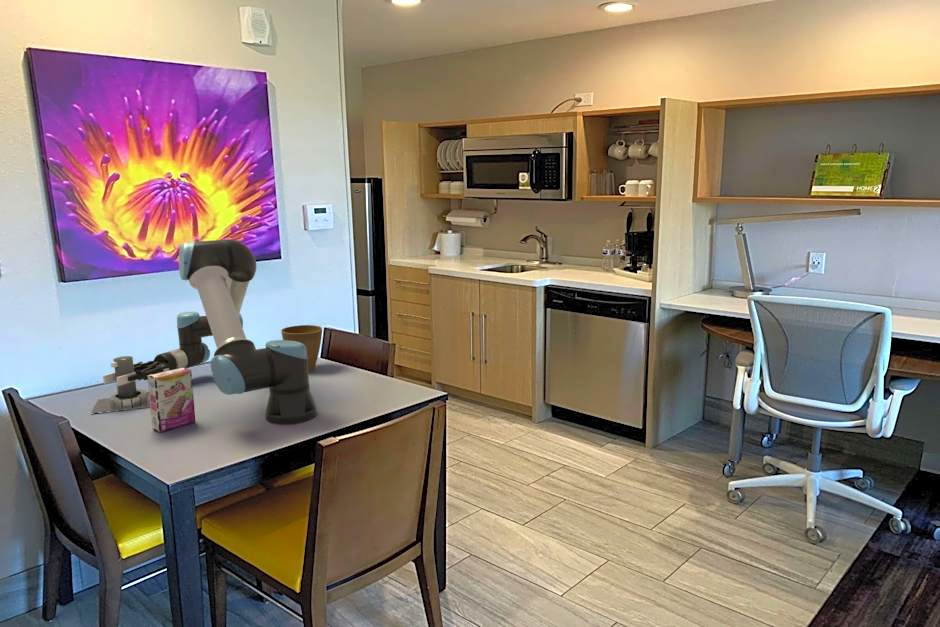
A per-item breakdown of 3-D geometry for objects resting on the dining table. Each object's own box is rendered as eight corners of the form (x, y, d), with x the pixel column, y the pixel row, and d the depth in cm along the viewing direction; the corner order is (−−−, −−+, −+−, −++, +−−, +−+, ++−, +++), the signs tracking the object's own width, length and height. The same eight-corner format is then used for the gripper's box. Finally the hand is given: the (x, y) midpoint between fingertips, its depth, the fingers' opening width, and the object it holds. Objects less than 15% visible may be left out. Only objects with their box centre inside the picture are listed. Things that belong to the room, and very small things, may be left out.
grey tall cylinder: (129, 396, 224) (124, 355, 222) (141, 398, 222) (136, 357, 219) (111, 402, 218) (105, 360, 215) (123, 404, 216) (117, 362, 213)
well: (161, 406, 218) (160, 396, 218) (91, 414, 211) (90, 405, 211) (164, 393, 231) (163, 384, 230) (98, 401, 224) (97, 392, 224)
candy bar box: (160, 433, 195) (154, 378, 192) (152, 429, 198) (145, 375, 195) (197, 422, 203) (191, 369, 200) (188, 418, 206) (183, 366, 203)
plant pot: (293, 378, 246) (290, 335, 243) (278, 369, 258) (275, 328, 255) (331, 370, 255) (328, 329, 252) (315, 362, 267) (312, 322, 264)
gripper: (191, 375, 232) (133, 395, 211) (152, 370, 240) (92, 389, 219) (188, 354, 231) (130, 372, 210) (149, 349, 238) (89, 366, 217)
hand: (111, 380), depth 214 cm, fingers closed on grey tall cylinder, 5 cm apart
